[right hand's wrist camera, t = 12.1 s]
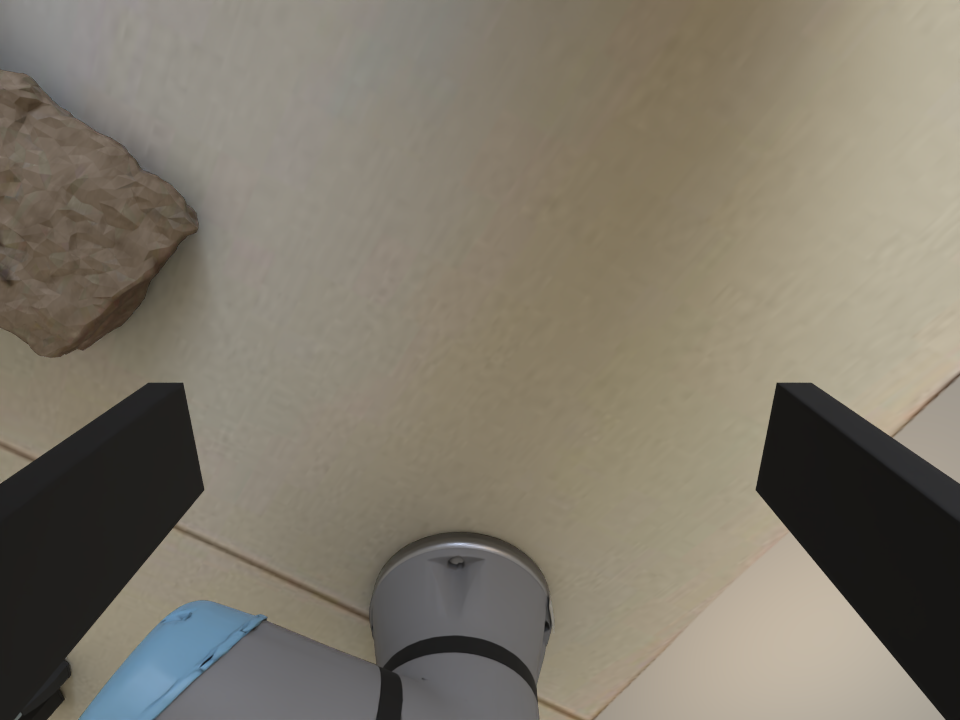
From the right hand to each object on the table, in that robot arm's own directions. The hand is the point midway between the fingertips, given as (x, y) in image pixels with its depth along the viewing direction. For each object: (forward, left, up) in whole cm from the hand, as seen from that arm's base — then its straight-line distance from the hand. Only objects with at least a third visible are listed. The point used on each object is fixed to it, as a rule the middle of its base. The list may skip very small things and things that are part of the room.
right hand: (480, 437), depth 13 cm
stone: (-17, +24, -26) cm, 39 cm away
